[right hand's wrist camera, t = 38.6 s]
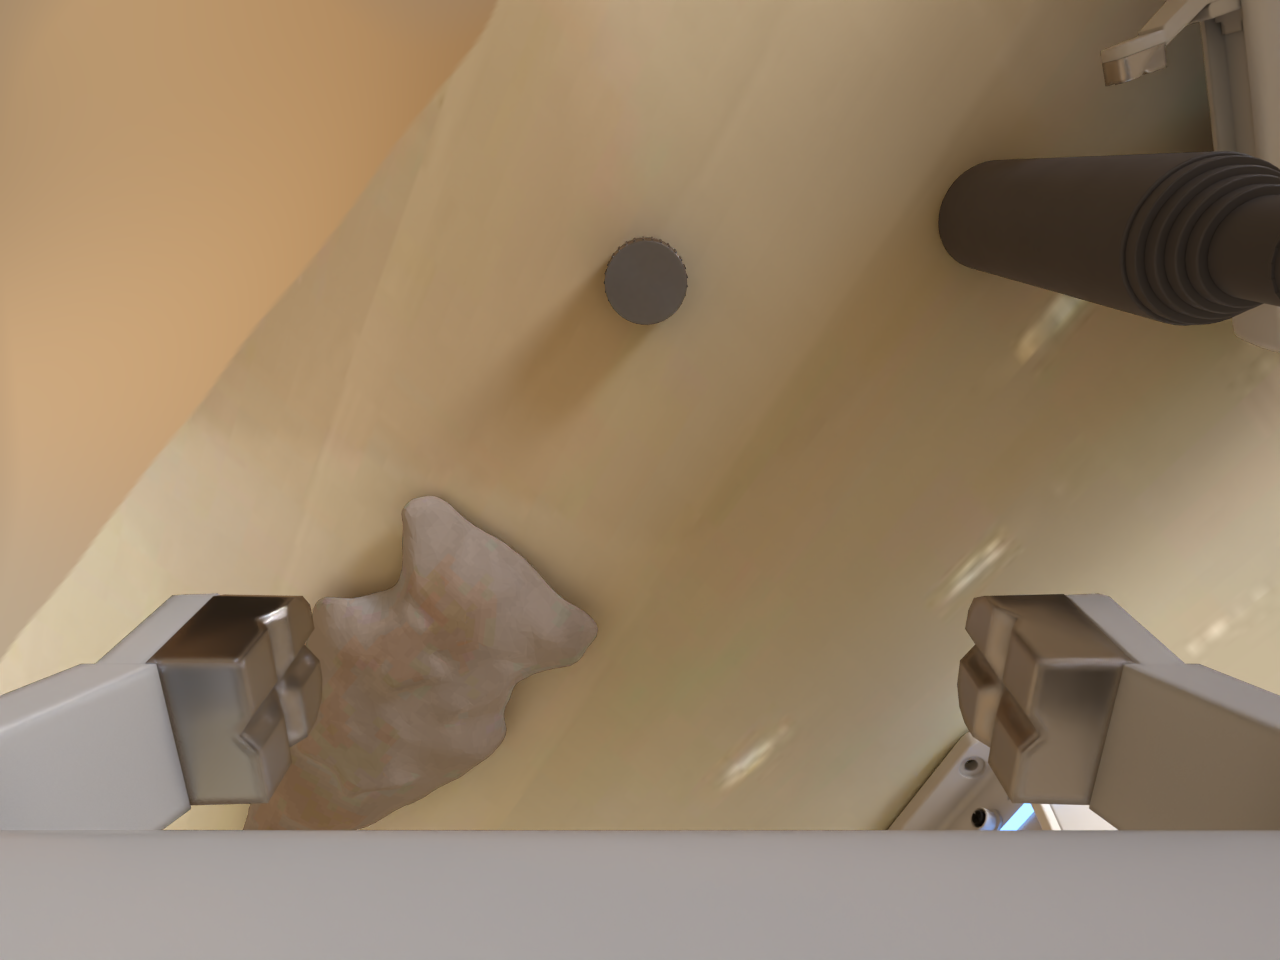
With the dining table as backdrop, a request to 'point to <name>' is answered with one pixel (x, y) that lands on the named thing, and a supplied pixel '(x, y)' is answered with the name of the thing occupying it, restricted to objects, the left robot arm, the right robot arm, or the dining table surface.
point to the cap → (645, 281)
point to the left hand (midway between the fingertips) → (1125, 180)
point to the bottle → (1126, 230)
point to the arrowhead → (420, 674)
